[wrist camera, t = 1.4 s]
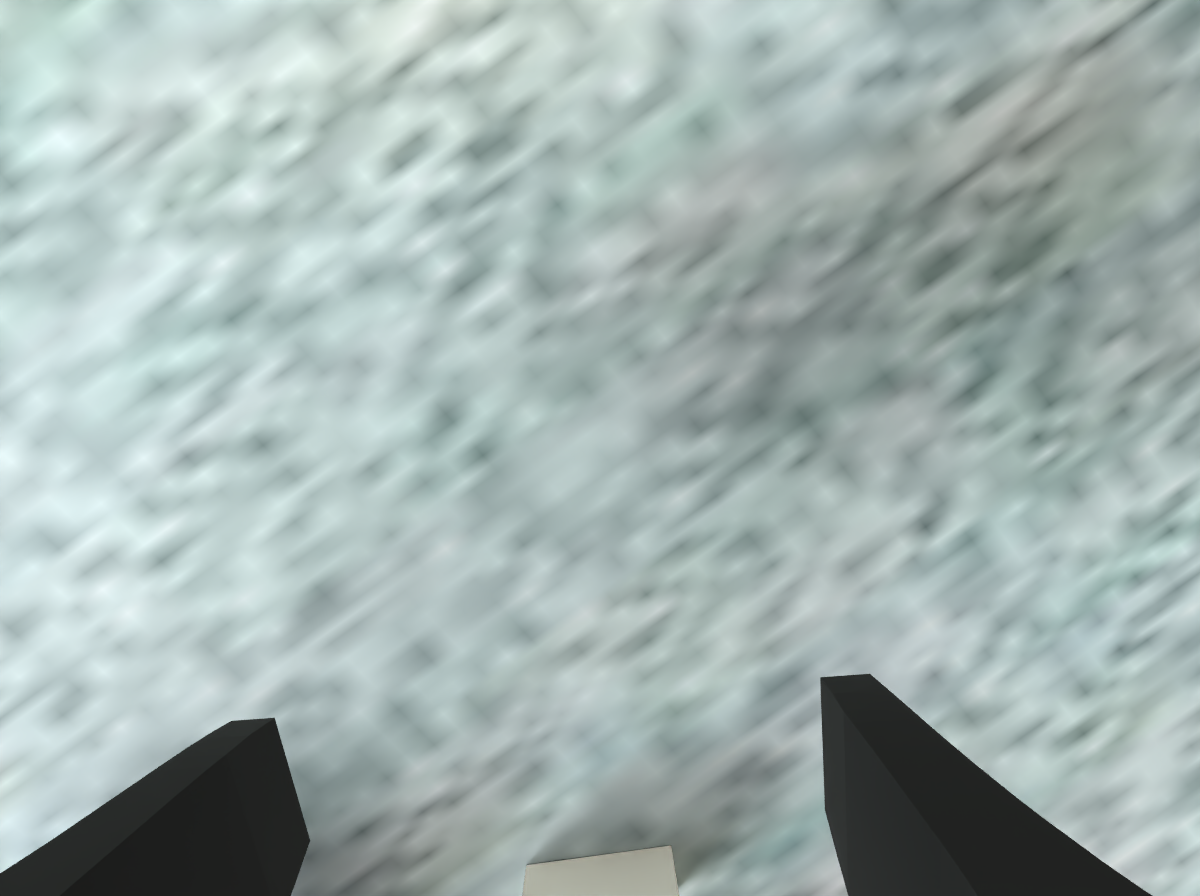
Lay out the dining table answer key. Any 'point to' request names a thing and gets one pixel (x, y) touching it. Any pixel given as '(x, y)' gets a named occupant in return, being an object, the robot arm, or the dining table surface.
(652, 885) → the ivory domino
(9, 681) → the dining table surface
